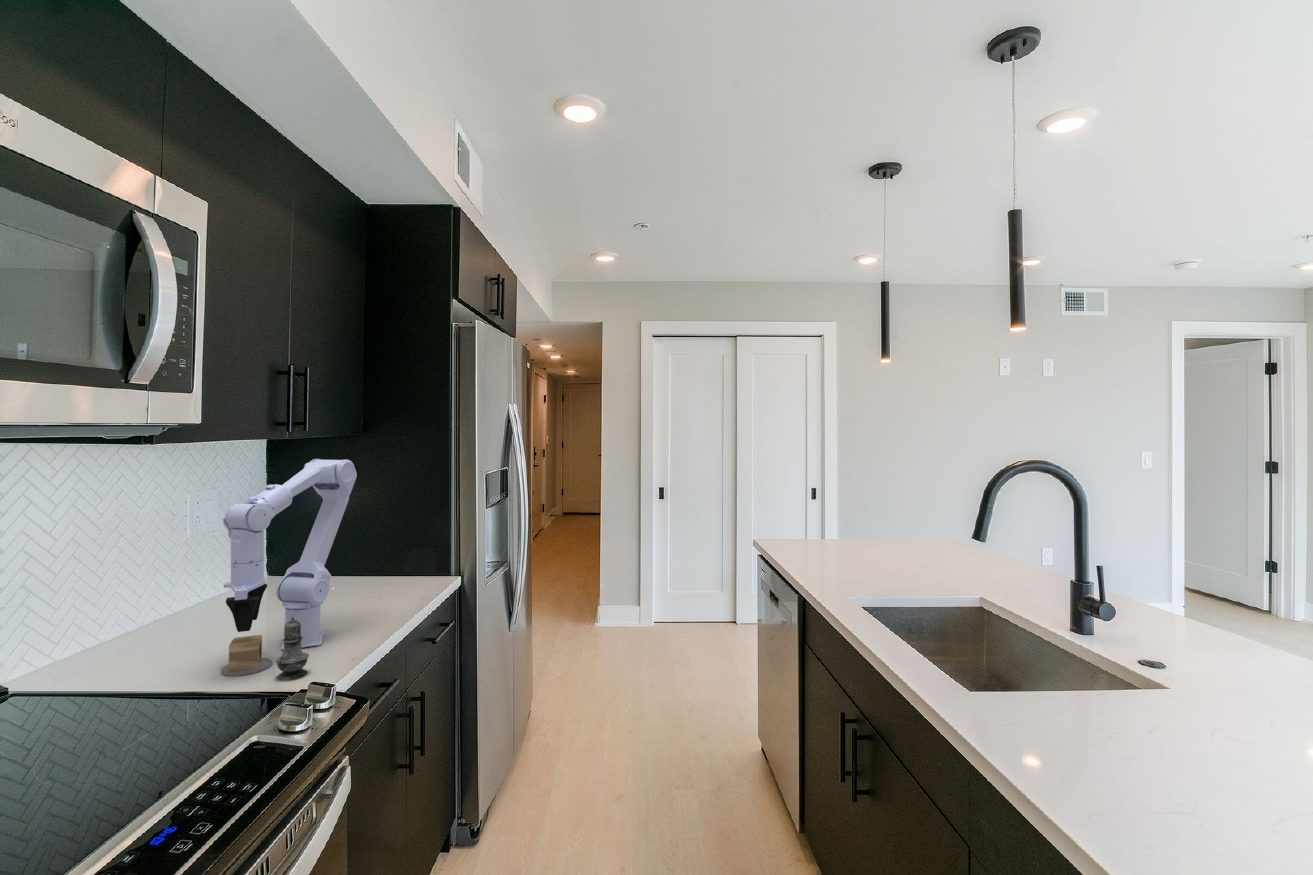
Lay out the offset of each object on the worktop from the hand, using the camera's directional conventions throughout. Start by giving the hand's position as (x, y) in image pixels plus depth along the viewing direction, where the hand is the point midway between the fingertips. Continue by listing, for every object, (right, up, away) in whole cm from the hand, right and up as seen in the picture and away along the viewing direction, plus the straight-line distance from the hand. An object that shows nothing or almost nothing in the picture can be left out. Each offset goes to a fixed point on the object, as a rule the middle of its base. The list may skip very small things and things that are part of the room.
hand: (247, 625), depth 125 cm
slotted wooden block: (0, -9, 0) cm, 9 cm away
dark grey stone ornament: (+12, -9, -4) cm, 15 cm away
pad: (0, -9, 0) cm, 9 cm away
